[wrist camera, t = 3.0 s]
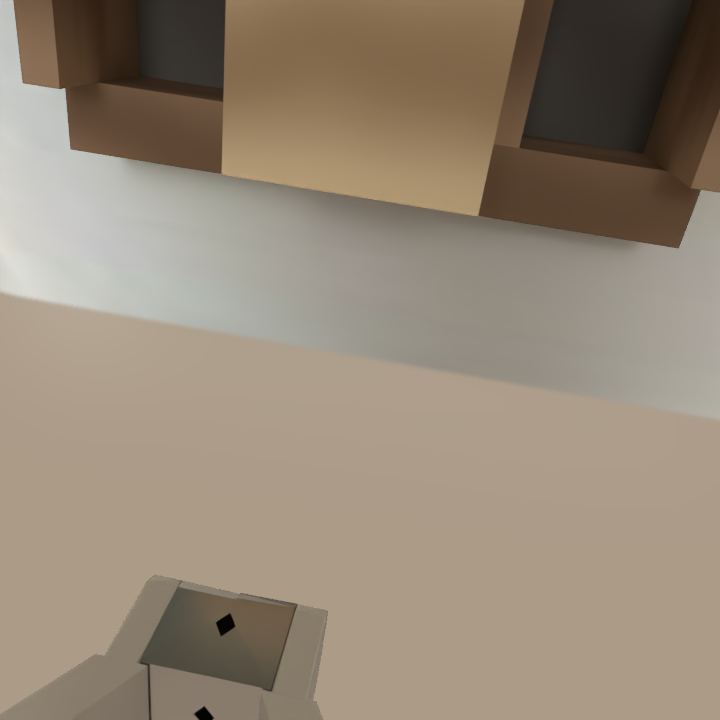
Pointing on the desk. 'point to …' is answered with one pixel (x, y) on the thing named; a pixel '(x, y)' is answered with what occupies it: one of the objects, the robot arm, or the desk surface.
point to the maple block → (368, 96)
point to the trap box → (516, 122)
